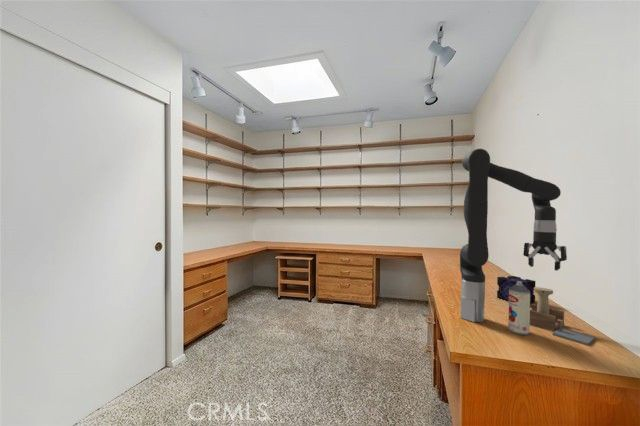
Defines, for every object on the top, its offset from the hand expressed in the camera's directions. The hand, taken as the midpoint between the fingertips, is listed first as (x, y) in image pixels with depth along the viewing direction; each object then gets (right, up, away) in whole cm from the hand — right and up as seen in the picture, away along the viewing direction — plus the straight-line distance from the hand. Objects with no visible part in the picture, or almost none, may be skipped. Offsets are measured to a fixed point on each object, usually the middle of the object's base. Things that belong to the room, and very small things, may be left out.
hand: (543, 268), depth 115 cm
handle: (0, -24, 0) cm, 24 cm away
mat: (+2, -24, -12) cm, 27 cm away
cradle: (0, -24, 0) cm, 24 cm away
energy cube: (+10, -24, +31) cm, 41 cm away
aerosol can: (-17, -24, -8) cm, 30 cm away
